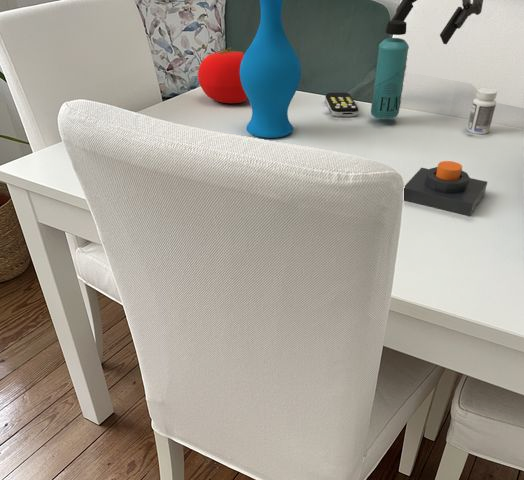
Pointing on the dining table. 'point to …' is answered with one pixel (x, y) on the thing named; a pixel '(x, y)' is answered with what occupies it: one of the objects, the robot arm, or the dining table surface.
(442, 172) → the button
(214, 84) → the tomato
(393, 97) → the beverage bottle
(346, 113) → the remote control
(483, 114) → the pill bottle
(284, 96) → the vase
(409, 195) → the dark grey mounting base
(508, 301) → the dining table surface
